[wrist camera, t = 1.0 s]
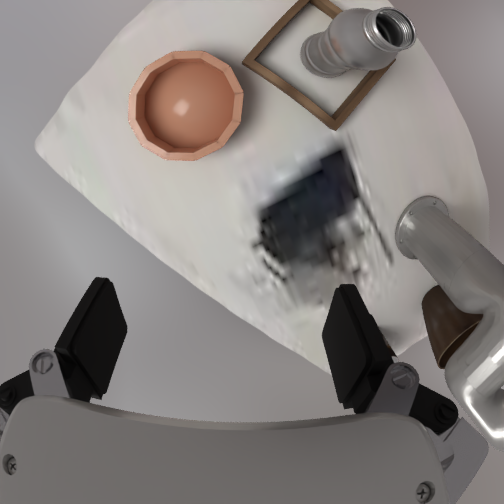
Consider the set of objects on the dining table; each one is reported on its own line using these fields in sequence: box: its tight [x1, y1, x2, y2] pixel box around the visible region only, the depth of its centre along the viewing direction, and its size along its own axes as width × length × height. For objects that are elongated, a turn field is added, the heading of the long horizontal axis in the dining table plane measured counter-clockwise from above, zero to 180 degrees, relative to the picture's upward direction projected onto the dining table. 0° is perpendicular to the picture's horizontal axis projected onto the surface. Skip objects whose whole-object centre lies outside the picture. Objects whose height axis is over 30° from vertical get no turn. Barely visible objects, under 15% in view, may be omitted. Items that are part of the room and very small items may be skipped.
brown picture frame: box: [242, 0, 396, 131], centre depth 27 cm, size 15×15×2 cm
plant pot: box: [422, 285, 483, 369], centre depth 46 cm, size 15×15×16 cm
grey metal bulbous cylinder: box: [300, 7, 416, 78], centre depth 20 cm, size 6×7×20 cm
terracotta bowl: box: [128, 51, 244, 161], centre depth 30 cm, size 14×14×4 cm
